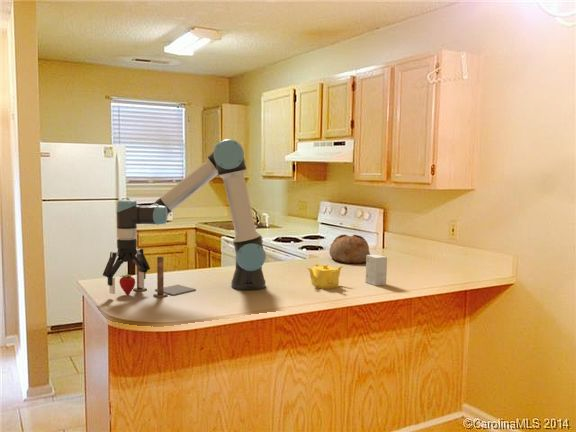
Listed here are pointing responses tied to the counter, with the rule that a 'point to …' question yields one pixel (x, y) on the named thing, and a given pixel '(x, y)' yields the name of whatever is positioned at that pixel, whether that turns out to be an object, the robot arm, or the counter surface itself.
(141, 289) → the post
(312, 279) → the teapot
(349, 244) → the bread
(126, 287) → the strawberry
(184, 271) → the counter surface
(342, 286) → the counter surface
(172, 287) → the slate coaster
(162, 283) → the post
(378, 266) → the small box
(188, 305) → the counter surface
